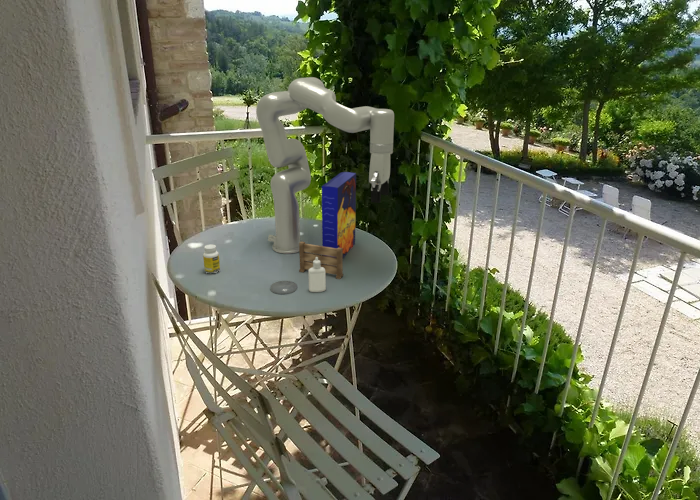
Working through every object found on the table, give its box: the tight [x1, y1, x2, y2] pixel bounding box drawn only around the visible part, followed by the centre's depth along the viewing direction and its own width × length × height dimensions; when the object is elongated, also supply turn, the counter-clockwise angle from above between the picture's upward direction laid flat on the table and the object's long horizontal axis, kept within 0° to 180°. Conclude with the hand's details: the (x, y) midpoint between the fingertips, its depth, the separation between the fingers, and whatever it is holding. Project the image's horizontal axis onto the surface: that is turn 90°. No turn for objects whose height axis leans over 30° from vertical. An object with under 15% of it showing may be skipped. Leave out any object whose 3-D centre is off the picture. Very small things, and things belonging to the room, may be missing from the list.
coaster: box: [269, 280, 298, 295], centre depth 169 cm, size 9×9×1 cm
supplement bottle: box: [202, 244, 221, 274], centre depth 179 cm, size 5×5×10 cm
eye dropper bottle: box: [307, 257, 327, 293], centre depth 166 cm, size 4×6×12 cm
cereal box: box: [321, 171, 357, 259], centre depth 191 cm, size 22×6×30 cm, turn 162°
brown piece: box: [298, 240, 344, 280], centre depth 177 cm, size 16×3×11 cm, turn 69°
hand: (379, 198), depth 171 cm, fingers open, 9 cm apart
